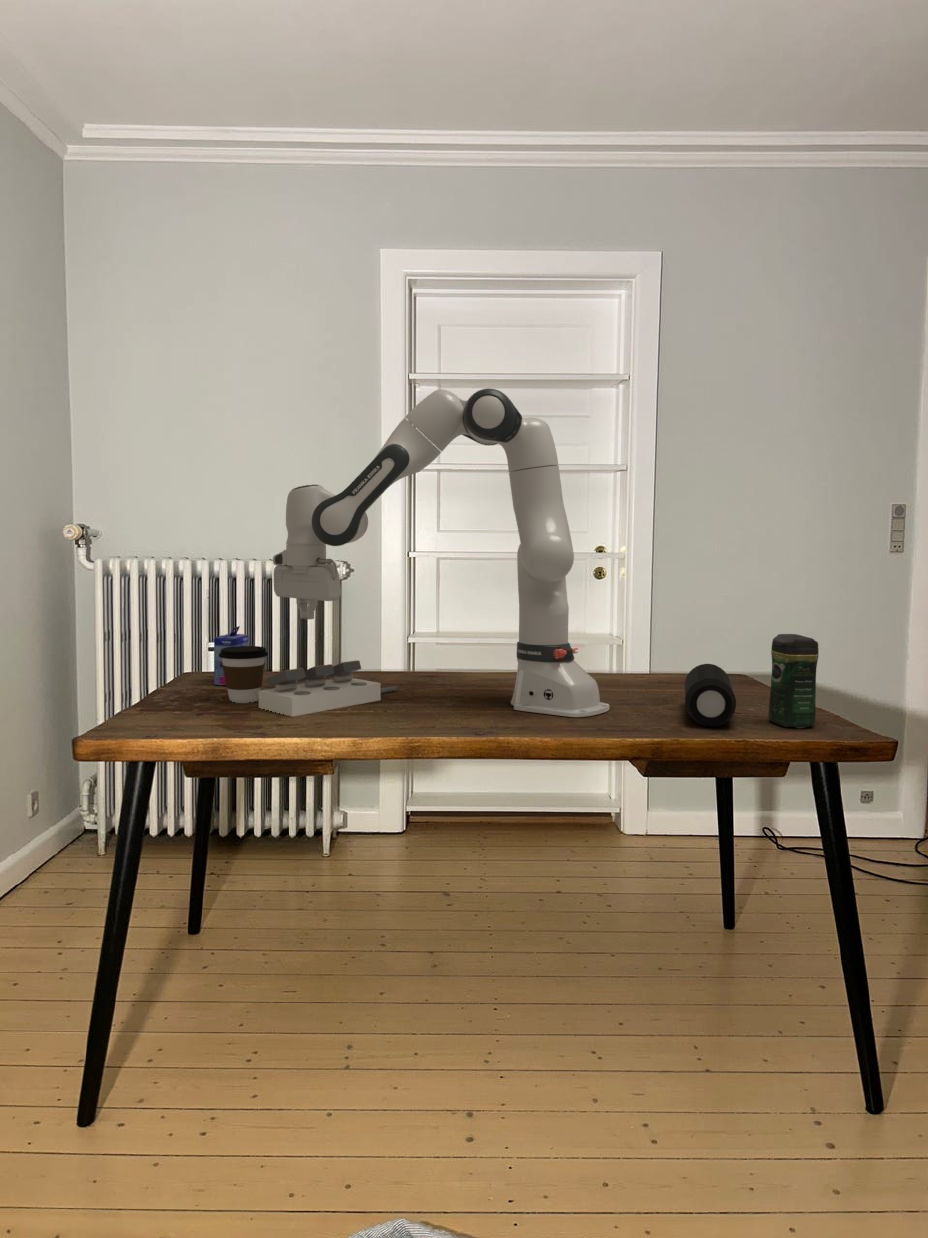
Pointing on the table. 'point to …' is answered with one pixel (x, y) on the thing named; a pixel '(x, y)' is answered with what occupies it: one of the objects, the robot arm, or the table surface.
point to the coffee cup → (243, 672)
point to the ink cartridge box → (224, 642)
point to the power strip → (320, 695)
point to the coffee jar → (793, 680)
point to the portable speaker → (709, 695)
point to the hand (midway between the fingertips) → (307, 618)
